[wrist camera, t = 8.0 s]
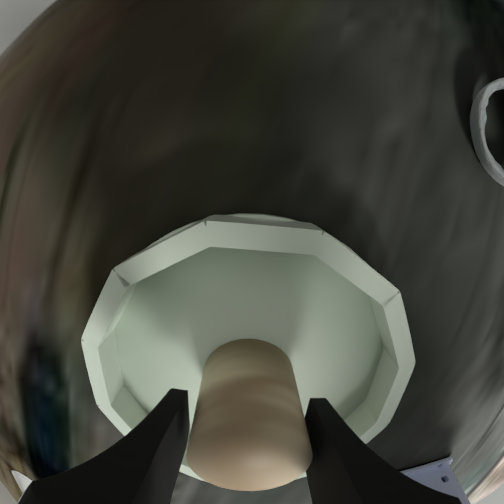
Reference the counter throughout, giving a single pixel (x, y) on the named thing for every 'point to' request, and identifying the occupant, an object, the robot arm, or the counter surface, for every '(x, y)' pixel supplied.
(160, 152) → the counter surface
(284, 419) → the maple cylinder
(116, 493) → the robot arm
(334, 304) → the round tray
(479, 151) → the ceramic mug
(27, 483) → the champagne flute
